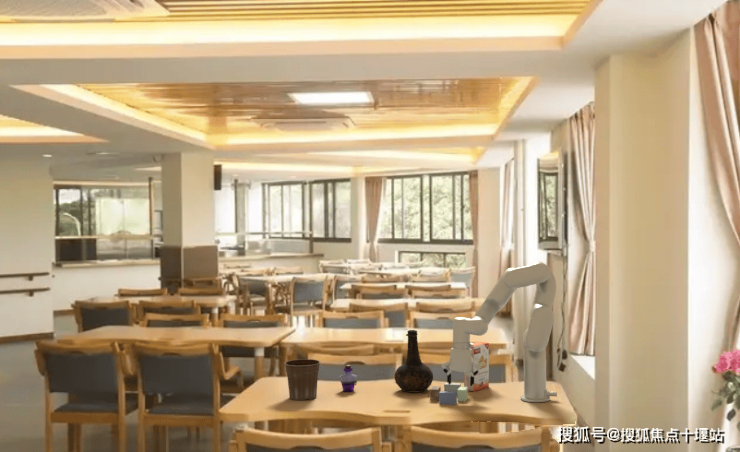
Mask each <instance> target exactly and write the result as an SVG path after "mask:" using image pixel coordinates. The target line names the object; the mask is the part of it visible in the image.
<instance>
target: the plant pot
mask: <svg viewBox="0 0 740 452" xmlns="http://www.w3.org/2000/svg"><path fill="white" fill-rule="evenodd" d="M283 364H284V365H285V371H286V372H285V373H286V375H287V376H286V377H287V385H288V393H289V394H288V395H289V399H291V400H294V401H306V400H310V399H311V400H315V398H317V395H318V394H317V391H318V378H319V376H318V375H319V371H320V364H321V361H320V360H317V359H311V358H309V359H308V358H306V359H305V358H301V359H300V358H299V359H291V360H290V359H289V360H287V361H285V362H283ZM311 400H310V401H311Z"/></svg>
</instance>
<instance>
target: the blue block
mask: <svg viewBox="0 0 740 452" xmlns="http://www.w3.org/2000/svg"><path fill="white" fill-rule="evenodd" d="M438 404H439V405H449V406H450V405H451V406H453V405H454V406H456V405H457V404H458V396H457V392H452V391H444V390H441V391H440V392H439V400H438Z"/></svg>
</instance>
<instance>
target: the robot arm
mask: <svg viewBox="0 0 740 452" xmlns="http://www.w3.org/2000/svg"><path fill="white" fill-rule="evenodd" d="M533 285H535V288H536V289H535V293H534V297H533V301H532V306H531V308H530V310H529V317H530V320H529V324H528V328H526V329H525V330H524V332H523V335H522V349H523V351H522V352H523V389H524V391H523V394H522V395H521V396H520V400H521V401H524V402H527V403H528V402H529V403H544V402H549V401H550V400H551V397H555V398H556V397H558V392H557V391H553V390H552V391H551V390H548V388H547V355H546V354H547V353H546V351H547V350H546V348H547V346H548V343H549V341H550V336H551V333H552V329H553V325H554V320H555V315H554V310H553V308H554V303H555V298H556V293H557V280H556V277H555V275H554V273H553V271H552V270H551V269H550V268H549V265H547V264H546V263H545V262H543V261H534V262H532V263H531V264H530V265H526V266H522V267H509V268H506V269H505V271H504V272H503V273H502V275H501V276H500V277H499V279H498V280H497V281H496V284H495V285H494V286H493V287H492V289H491V291H490V292H489V294H488V295H487V297H486V298H485V299H484V301H483V303H482V304H481V306H479V308H478V310H476V312H475V314H474V316H472V318H468V317H465V316H464V317H462V316H458V317H454V318H453V321H452V347H451V348H450V353H449V360H448V361H446V362H444V363H442V364H441V368H442V370H443V372H444V373H445V374H446V376H447V377H446V379H447V380H446V383H448V384H449V385H450V384H451V383H452V374H451V373H452V372H453V373H454V372H456V373H457V372H459V373H464V372H469V373H470V375H471V377H470V386H472V385H473V384H474V376H475V375H476V374H477V373H478V372H479V370H480V368H481V367H480V366H479V365H477V364H475V363H474V362H473V355H472V349H470V347H473V343H472V342H471V335H473V336H479V337H481V336H484V335H485V334H486V333H488V331H489V325H490V323H491V321H492V320H493V319H494V318H495V316H496V315H497V314H498V313H499V312H500V310H503V308H504V307H505V306H506V305H507V303H508V302H509V301H510V299H511V298H512V297H513V295H514V293H515V292H516V290H517V289H521V288H524V287H529V286H533ZM447 366H448V369H449V370H448V369H447ZM473 366H474V367H476V368H477V370H476V371H475V372H473V371H472V370H473Z"/></svg>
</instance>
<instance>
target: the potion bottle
mask: <svg viewBox="0 0 740 452" xmlns="http://www.w3.org/2000/svg"><path fill="white" fill-rule="evenodd" d="M343 372H344V374H341V375H339V379H340V380H339V381H340V384H341V386H342V392H344V393H352V392H354V391H355V386H356V385H357V383H358V380H357V377H358V375H356V374H353V373H352V372H353V367H352V365H351V364H344V367H343Z"/></svg>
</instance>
